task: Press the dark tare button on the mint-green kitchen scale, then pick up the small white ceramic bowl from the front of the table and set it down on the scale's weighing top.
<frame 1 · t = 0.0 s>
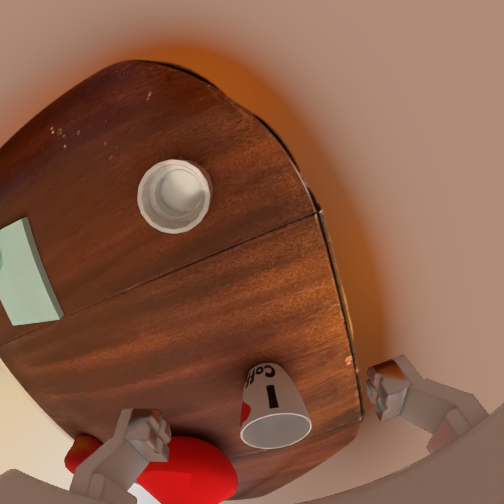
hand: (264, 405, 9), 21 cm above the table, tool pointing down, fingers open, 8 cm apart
apple: (92, 440, 41), on the table
vase: (188, 447, 41), on the table
bowl: (182, 190, 26), on the table
scale: (19, 275, 27), on the table
cup: (266, 374, 35), on the table
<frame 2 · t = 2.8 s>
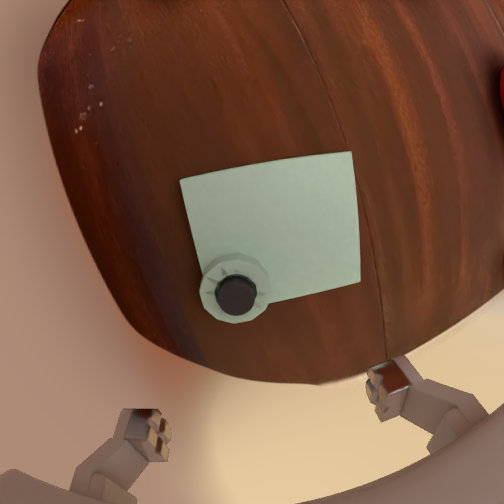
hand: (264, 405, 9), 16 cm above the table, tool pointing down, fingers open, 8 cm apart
tare button: (236, 296, 21), point 3 cm above the table, slide at 0.1 cm
scale: (278, 231, 24), on the table
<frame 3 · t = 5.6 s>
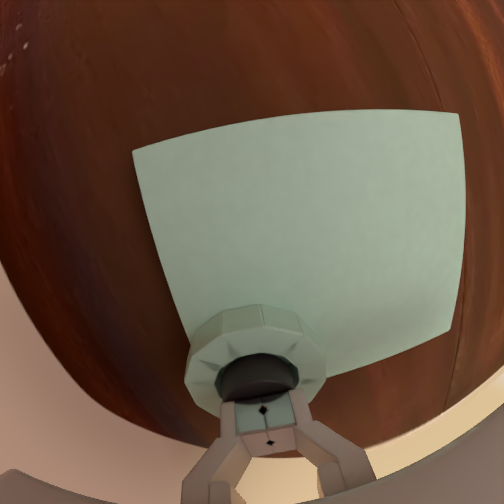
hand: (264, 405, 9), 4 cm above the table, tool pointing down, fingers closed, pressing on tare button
tare button: (258, 390, 10), point 3 cm above the table, slide at 0.1 cm, touching gripper
scale: (336, 255, 12), on the table
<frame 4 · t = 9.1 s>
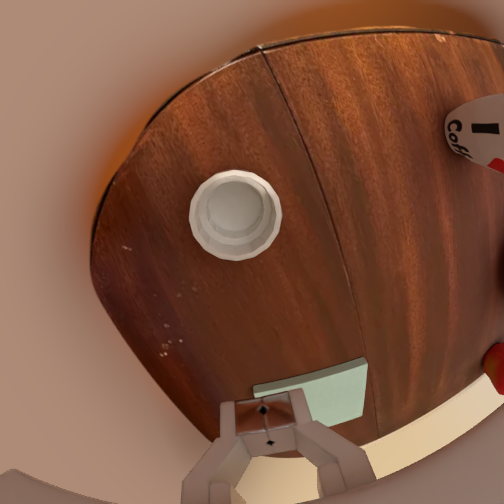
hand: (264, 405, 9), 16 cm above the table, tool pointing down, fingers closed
apple: (490, 352, 36), on the table
bowl: (234, 204, 23), on the table
scale: (313, 401, 32), on the table
cup: (457, 132, 22), on the table
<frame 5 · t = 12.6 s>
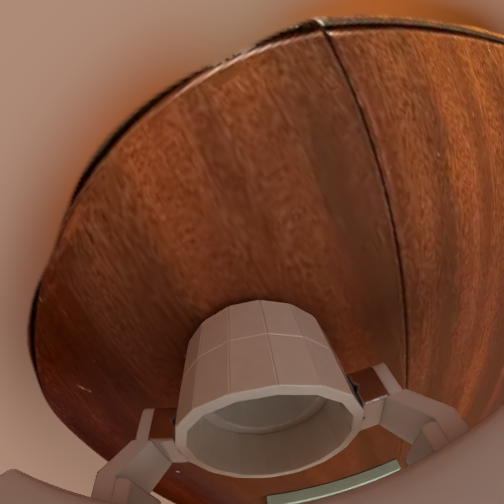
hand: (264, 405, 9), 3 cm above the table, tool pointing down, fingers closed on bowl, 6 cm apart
bowl: (257, 353, 12), on the table, touching gripper
scale: (332, 495, 21), on the table
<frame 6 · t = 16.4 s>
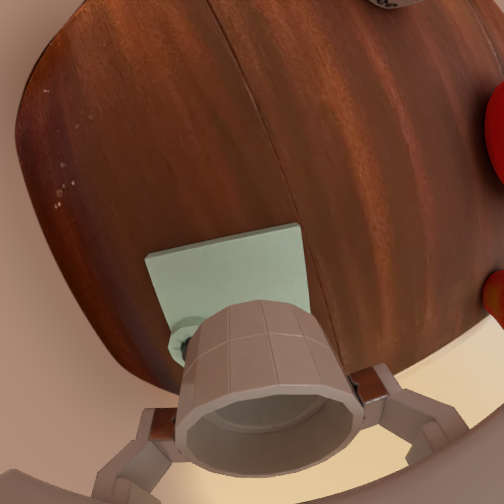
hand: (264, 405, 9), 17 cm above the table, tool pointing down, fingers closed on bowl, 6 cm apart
apple: (489, 285, 31), on the table
tare button: (197, 352, 24), point 3 cm above the table, slide at 0.1 cm
vase: (500, 138, 23), on the table
bowl: (257, 353, 12), point 14 cm above the table, touching gripper
scale: (234, 295, 27), on the table
when the fingers open (4 cm above the table, at t = 20.3 s): bowl stays where it is, resting on scale.
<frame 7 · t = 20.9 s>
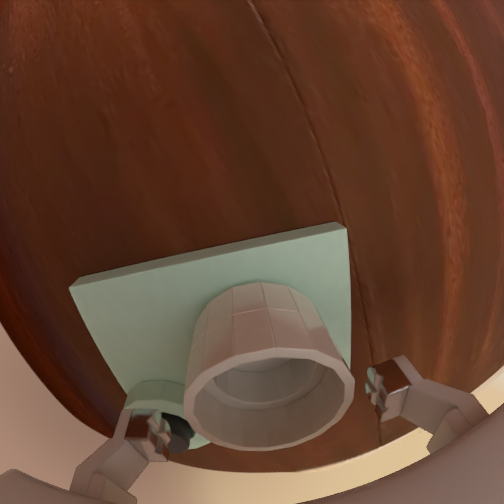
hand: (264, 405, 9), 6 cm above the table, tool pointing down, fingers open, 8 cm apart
tare button: (167, 433, 13), point 3 cm above the table, slide at 0.1 cm
bowl: (258, 333, 13), point 1 cm above the table, touching scale
scale: (224, 347, 15), on the table
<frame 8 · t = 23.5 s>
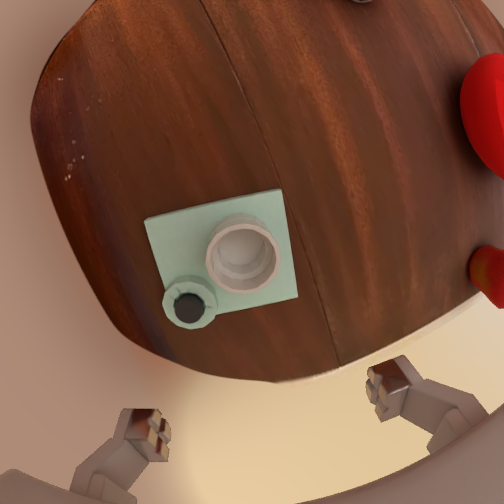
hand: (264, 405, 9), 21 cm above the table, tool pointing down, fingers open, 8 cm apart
apple: (476, 261, 33), on the table
tare button: (189, 308, 27), point 3 cm above the table, slide at 0.1 cm
vase: (478, 118, 26), on the table
bowl: (240, 242, 27), point 1 cm above the table, touching scale
scale: (224, 256, 29), on the table
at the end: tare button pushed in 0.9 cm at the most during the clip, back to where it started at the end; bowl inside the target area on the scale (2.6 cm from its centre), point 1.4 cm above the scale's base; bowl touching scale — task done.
